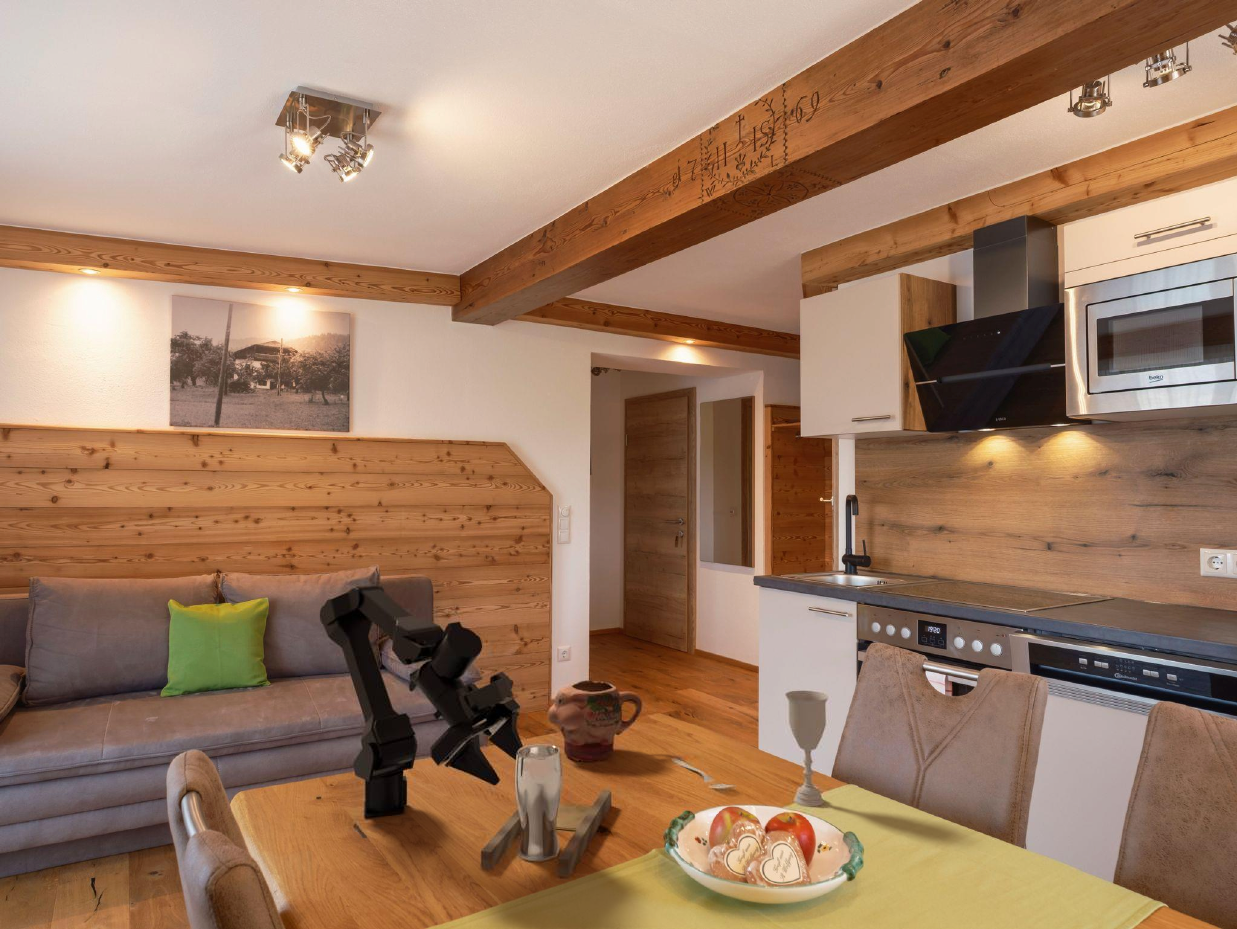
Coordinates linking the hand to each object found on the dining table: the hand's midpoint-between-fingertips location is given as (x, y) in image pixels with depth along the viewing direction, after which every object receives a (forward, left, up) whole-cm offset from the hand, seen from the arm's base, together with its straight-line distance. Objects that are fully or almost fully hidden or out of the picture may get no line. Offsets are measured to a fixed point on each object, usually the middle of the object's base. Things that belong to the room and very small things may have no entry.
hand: (512, 772), depth 121 cm
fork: (+39, +21, -12) cm, 46 cm away
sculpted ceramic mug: (+24, +38, -12) cm, 46 cm away
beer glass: (+3, -2, -12) cm, 12 cm away
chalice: (+52, +2, -12) cm, 53 cm away
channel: (+7, +3, -11) cm, 14 cm away
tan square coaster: (+10, +9, -11) cm, 17 cm away
